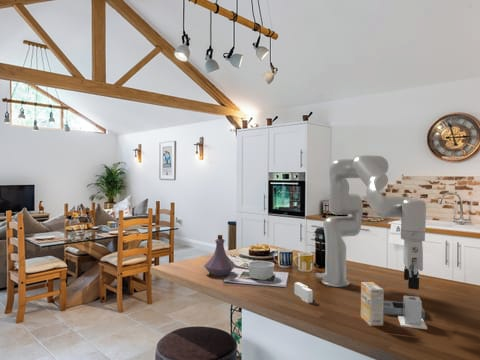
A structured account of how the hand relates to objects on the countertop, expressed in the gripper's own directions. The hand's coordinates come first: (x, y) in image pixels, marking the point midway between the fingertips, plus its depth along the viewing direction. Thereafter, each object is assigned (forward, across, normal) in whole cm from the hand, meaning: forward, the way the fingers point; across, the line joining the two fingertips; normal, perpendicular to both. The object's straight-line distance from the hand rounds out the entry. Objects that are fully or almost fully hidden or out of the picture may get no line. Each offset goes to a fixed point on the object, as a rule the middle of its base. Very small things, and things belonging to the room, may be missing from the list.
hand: (411, 284), depth 125 cm
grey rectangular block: (+13, -1, -1) cm, 13 cm away
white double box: (+16, +14, +39) cm, 44 cm away
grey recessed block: (+14, +9, +1) cm, 16 cm away
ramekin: (+16, +39, +62) cm, 75 cm away
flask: (+16, +39, +84) cm, 94 cm away
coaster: (+14, -1, -1) cm, 14 cm away
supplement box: (+14, -3, +13) cm, 19 cm away
